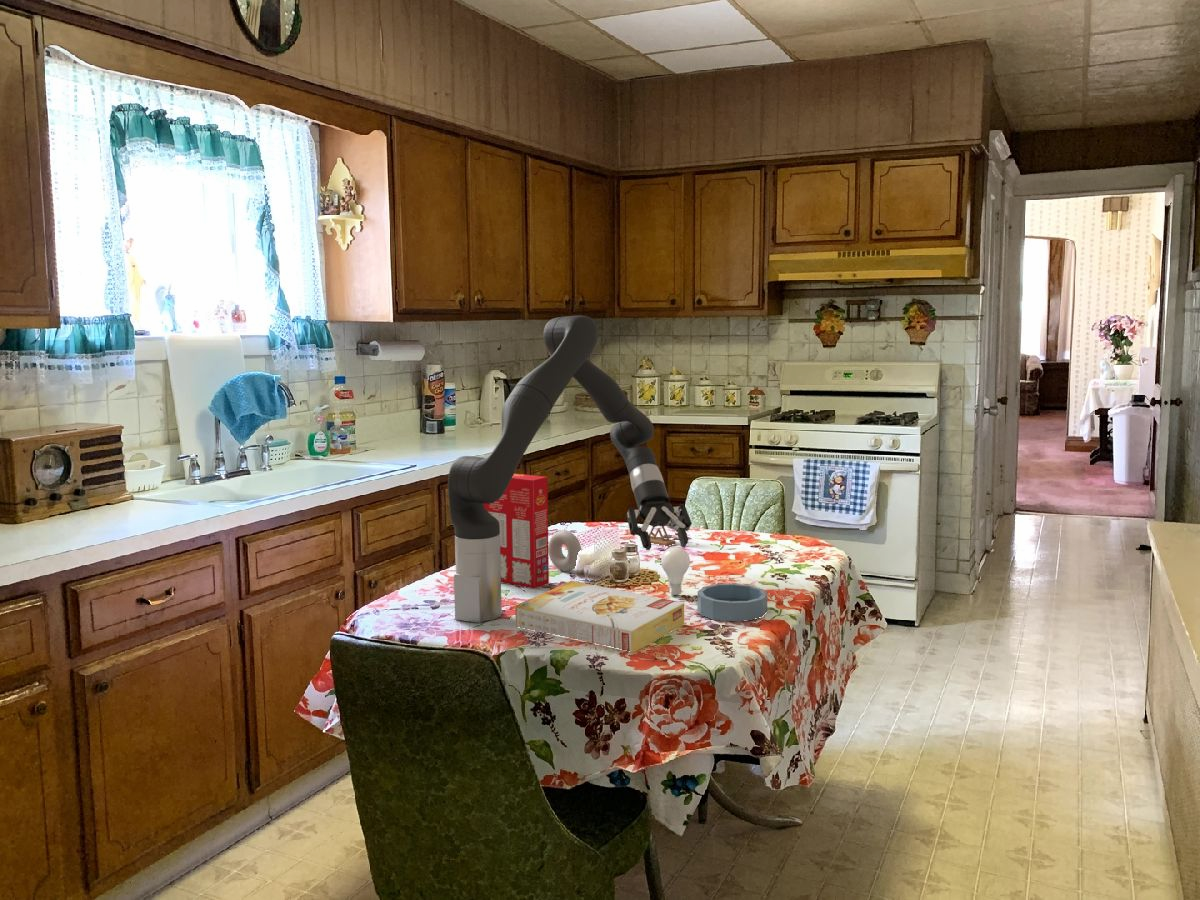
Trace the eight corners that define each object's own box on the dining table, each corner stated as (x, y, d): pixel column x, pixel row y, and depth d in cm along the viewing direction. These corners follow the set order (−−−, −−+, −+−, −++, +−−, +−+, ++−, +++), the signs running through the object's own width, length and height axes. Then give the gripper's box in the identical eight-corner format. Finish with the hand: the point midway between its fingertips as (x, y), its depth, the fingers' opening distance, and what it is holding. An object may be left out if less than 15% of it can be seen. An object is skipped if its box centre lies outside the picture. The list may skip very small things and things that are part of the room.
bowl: (755, 625, 202) (755, 606, 201) (689, 616, 208) (689, 597, 207) (773, 606, 214) (774, 588, 214) (711, 598, 220) (711, 580, 220)
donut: (584, 572, 242) (584, 532, 241) (575, 575, 240) (574, 534, 238) (555, 565, 249) (554, 526, 247) (545, 568, 246) (544, 528, 245)
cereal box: (570, 578, 217) (686, 598, 202) (571, 603, 218) (686, 625, 203) (513, 604, 200) (634, 628, 185) (514, 631, 201) (635, 656, 186)
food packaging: (548, 583, 233) (547, 476, 230) (535, 588, 229) (533, 480, 225) (499, 574, 241) (497, 471, 238) (485, 579, 237) (482, 474, 233)
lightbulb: (666, 600, 219) (666, 551, 217) (657, 592, 225) (657, 544, 223) (693, 598, 221) (694, 549, 219) (683, 590, 227) (684, 542, 225)
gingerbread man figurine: (676, 544, 271) (676, 500, 269) (667, 546, 268) (667, 502, 266) (650, 539, 277) (650, 496, 275) (641, 541, 274) (641, 498, 272)
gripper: (623, 480, 230) (641, 540, 221) (681, 476, 234) (701, 535, 225) (616, 499, 236) (633, 558, 227) (672, 495, 240) (691, 553, 231)
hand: (667, 546), depth 226 cm, fingers open, 8 cm apart
